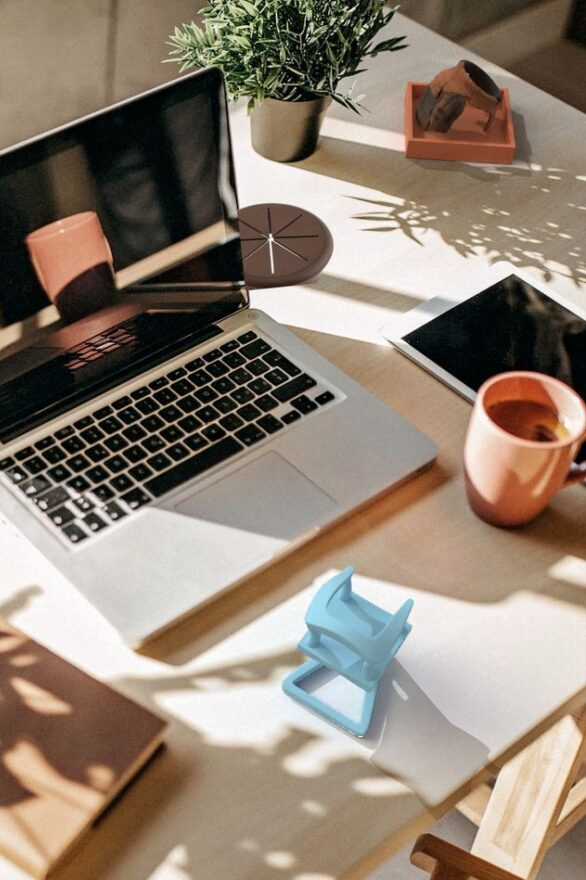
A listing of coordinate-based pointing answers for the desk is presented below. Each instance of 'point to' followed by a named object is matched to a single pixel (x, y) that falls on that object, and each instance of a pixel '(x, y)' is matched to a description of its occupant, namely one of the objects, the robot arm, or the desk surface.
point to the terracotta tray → (460, 132)
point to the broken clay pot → (457, 96)
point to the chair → (348, 644)
